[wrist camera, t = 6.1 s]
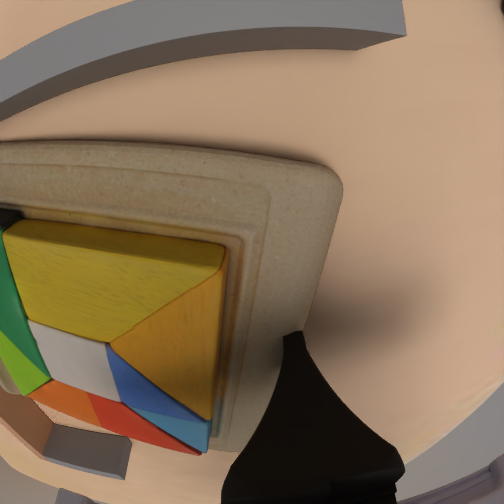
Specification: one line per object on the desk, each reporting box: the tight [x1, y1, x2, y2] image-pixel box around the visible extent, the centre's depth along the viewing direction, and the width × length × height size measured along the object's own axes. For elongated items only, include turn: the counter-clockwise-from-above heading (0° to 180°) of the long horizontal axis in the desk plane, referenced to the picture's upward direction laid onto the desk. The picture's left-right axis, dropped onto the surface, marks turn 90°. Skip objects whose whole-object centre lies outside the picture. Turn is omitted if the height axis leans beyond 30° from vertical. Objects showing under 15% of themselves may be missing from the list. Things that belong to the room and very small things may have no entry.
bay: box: [0, 0, 407, 480], centre depth 12 cm, size 24×24×4 cm
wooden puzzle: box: [0, 140, 343, 456], centre depth 12 cm, size 18×19×4 cm
